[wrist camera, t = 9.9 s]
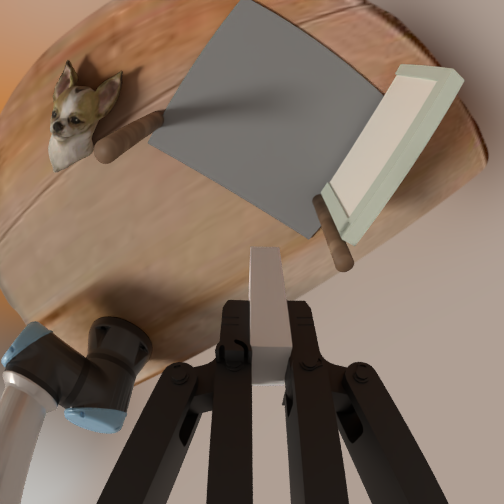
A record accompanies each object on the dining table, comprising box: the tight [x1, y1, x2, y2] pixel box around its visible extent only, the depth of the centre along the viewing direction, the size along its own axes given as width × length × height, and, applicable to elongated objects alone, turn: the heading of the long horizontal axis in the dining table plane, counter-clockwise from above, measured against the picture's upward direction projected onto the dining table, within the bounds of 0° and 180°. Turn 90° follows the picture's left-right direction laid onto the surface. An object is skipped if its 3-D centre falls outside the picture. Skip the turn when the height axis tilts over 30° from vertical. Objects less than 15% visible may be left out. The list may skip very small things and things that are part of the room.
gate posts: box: [94, 111, 354, 272], centre depth 34 cm, size 2×28×16 cm, turn 62°
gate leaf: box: [321, 64, 464, 246], centre depth 31 cm, size 22×2×12 cm, turn 153°
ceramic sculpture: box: [48, 60, 123, 172], centre depth 32 cm, size 11×9×15 cm
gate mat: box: [148, 0, 384, 239], centre depth 37 cm, size 24×28×1 cm
